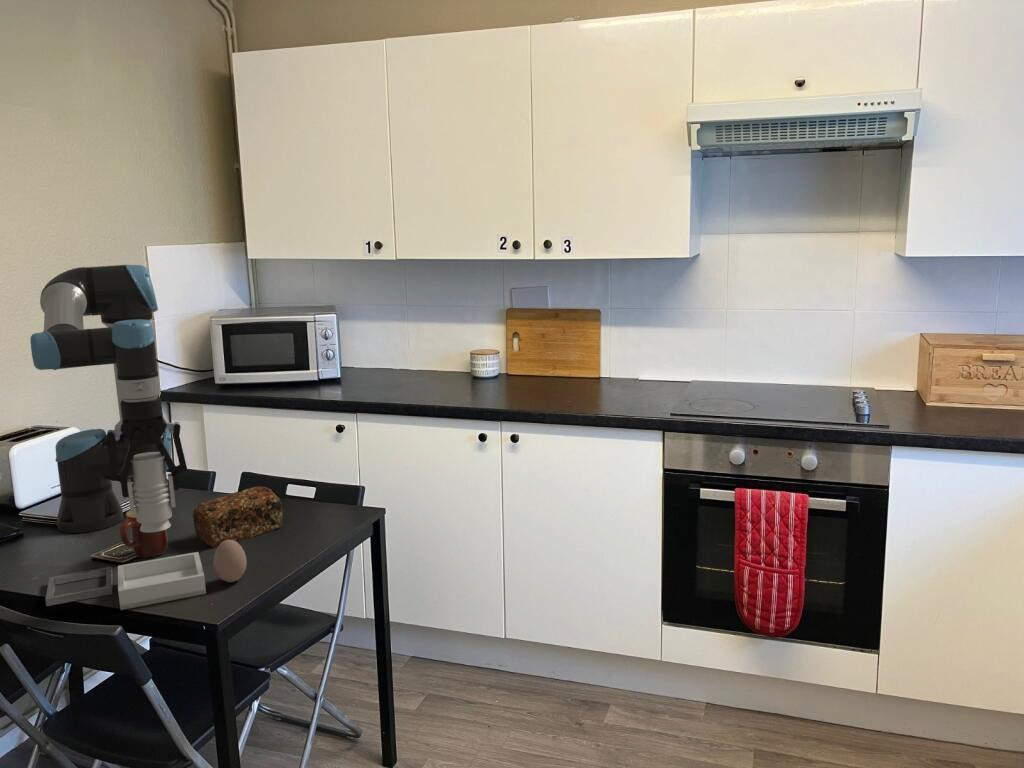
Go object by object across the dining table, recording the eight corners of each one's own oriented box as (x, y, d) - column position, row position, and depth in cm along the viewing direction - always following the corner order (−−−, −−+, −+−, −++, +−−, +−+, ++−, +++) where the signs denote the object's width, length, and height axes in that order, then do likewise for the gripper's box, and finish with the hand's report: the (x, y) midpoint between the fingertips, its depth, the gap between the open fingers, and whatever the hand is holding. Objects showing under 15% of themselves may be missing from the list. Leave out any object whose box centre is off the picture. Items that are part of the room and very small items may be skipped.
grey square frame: (50, 583, 183) (49, 577, 183) (112, 573, 188) (111, 566, 188) (46, 606, 173) (45, 599, 172) (112, 594, 177) (111, 587, 177)
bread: (265, 518, 220) (262, 481, 218) (285, 529, 212) (282, 490, 210) (193, 538, 208) (189, 498, 206) (212, 550, 200) (207, 509, 198)
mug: (150, 544, 204) (145, 503, 202) (180, 548, 201) (175, 506, 199) (110, 563, 193) (105, 520, 191) (140, 568, 190) (135, 524, 188)
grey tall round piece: (138, 524, 179) (129, 454, 176) (174, 519, 181) (166, 450, 178) (135, 535, 172) (126, 462, 169) (172, 530, 174) (164, 458, 172)
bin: (120, 583, 182) (117, 565, 182) (200, 569, 189) (198, 551, 188) (120, 610, 170) (118, 591, 169) (206, 593, 176) (204, 575, 175)
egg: (254, 576, 184) (250, 536, 182) (235, 589, 178) (231, 547, 176) (228, 573, 186) (224, 533, 184) (208, 585, 180) (204, 544, 178)
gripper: (84, 407, 164) (99, 522, 169) (195, 395, 172) (206, 505, 176) (85, 400, 171) (99, 511, 175) (192, 389, 179) (202, 495, 183)
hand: (153, 508), depth 176 cm, fingers closed on grey tall round piece, 7 cm apart
